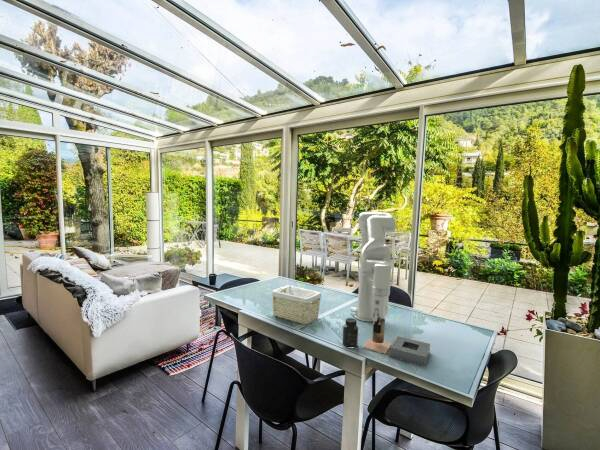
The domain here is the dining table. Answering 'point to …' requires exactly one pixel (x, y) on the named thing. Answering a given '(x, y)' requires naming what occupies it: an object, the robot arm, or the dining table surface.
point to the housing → (410, 350)
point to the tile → (377, 346)
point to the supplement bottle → (350, 333)
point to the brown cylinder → (380, 337)
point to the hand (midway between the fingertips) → (378, 330)
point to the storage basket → (296, 304)
